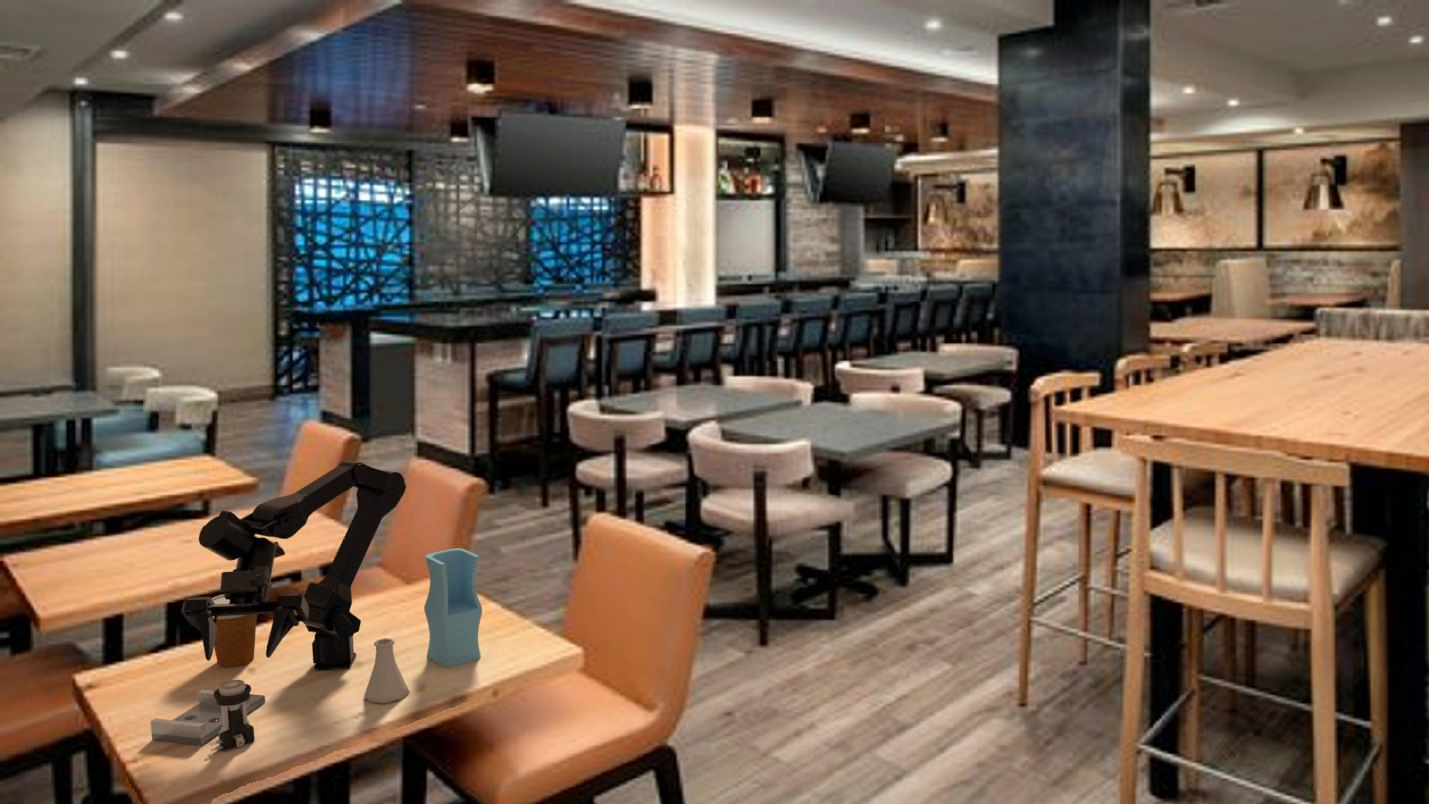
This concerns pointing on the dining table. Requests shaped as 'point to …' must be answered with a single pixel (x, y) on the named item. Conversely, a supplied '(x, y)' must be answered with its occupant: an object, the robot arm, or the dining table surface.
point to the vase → (453, 607)
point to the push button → (233, 715)
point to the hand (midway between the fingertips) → (237, 658)
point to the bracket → (197, 721)
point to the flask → (385, 675)
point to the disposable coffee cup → (234, 637)
